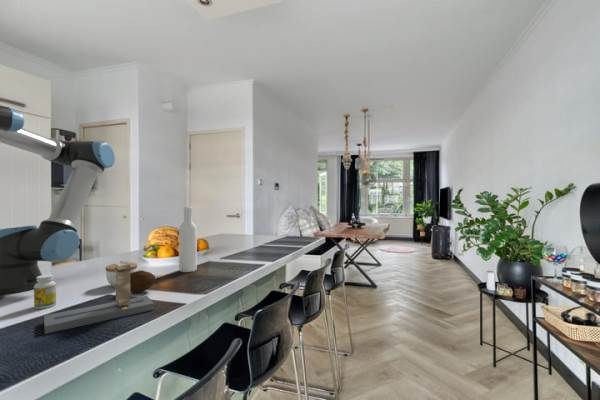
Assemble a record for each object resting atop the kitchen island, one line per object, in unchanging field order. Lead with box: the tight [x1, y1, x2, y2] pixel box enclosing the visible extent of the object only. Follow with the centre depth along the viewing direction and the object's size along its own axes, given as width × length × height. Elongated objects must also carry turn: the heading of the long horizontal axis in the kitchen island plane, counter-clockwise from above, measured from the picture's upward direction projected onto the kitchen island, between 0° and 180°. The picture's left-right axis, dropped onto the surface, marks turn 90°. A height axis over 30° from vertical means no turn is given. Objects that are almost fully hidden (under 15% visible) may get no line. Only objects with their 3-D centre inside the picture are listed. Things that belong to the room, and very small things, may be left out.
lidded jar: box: [105, 260, 138, 288], centre depth 119 cm, size 11×11×9 cm
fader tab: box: [115, 261, 131, 307], centre depth 92 cm, size 3×5×12 cm, turn 41°
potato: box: [130, 270, 157, 293], centre depth 111 cm, size 7×10×8 cm
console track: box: [43, 295, 155, 335], centre depth 89 cm, size 26×9×2 cm, turn 131°
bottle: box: [178, 206, 198, 273], centre depth 143 cm, size 8×8×30 cm
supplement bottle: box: [33, 274, 57, 310], centre depth 96 cm, size 5×5×10 cm
